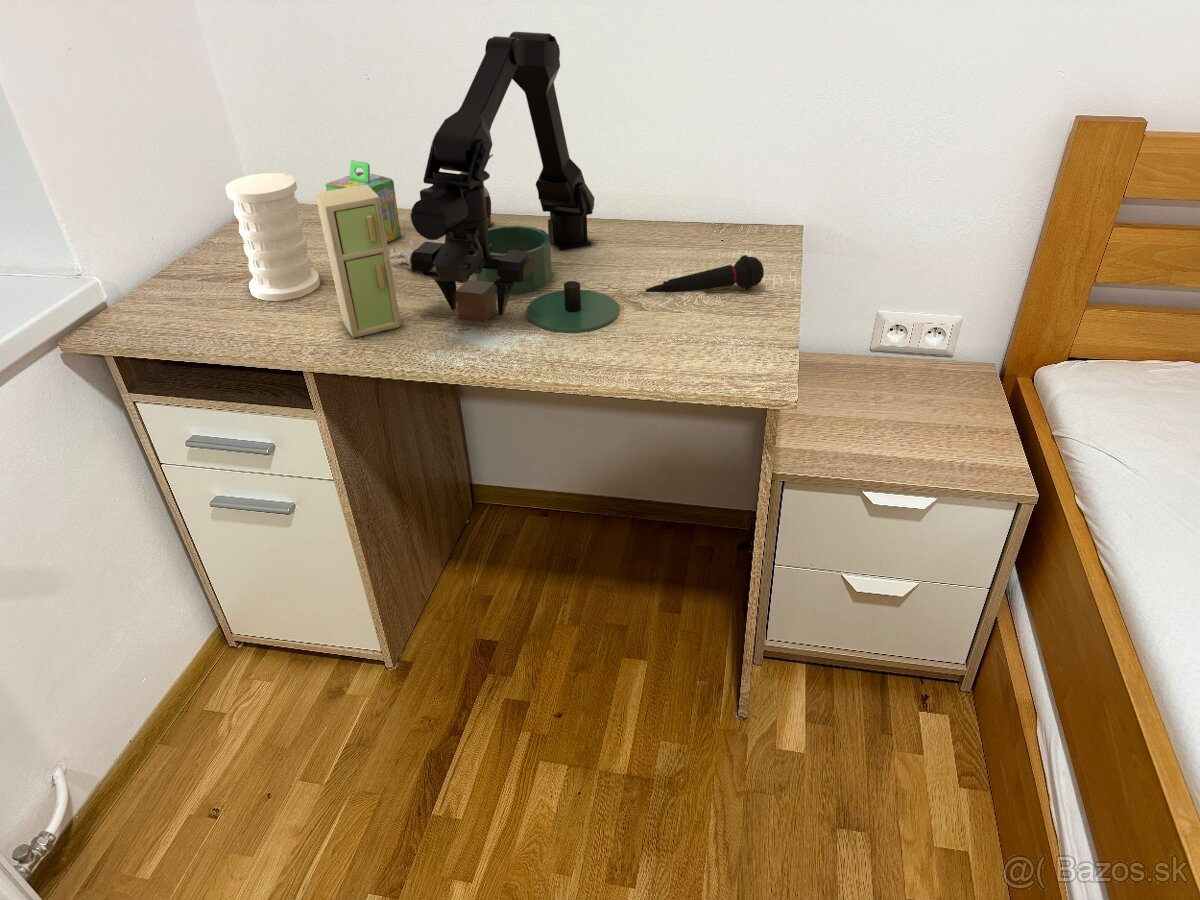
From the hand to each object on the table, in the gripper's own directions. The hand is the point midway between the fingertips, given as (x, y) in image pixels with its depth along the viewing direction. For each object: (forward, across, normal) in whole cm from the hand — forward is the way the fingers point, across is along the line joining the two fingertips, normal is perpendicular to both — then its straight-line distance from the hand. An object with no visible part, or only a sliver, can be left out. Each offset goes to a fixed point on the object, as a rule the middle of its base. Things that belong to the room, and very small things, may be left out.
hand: (477, 311), depth 138 cm
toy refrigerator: (+1, -15, -7) cm, 17 cm away
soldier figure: (+1, -18, +15) cm, 23 cm away
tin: (+1, 0, +15) cm, 15 cm away
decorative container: (+1, -37, +3) cm, 38 cm away
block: (+1, 0, 0) cm, 1 cm away
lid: (0, +14, +5) cm, 15 cm away
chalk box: (+1, -34, +26) cm, 43 cm away
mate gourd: (+1, -16, +38) cm, 41 cm away
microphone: (+1, +33, +20) cm, 39 cm away
